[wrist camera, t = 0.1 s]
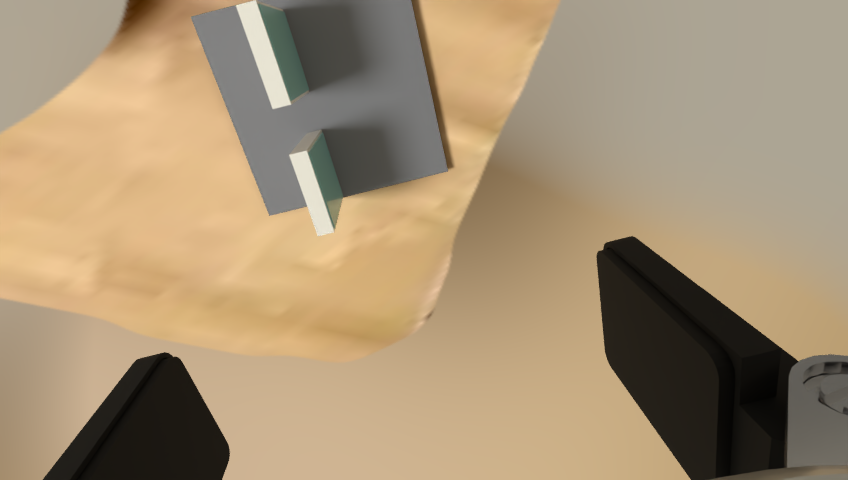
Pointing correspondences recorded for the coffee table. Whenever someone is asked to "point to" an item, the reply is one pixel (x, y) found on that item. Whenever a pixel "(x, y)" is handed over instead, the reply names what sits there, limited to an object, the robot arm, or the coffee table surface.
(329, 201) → the tile
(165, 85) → the coffee table surface
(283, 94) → the tile
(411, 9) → the mat
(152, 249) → the coffee table surface
